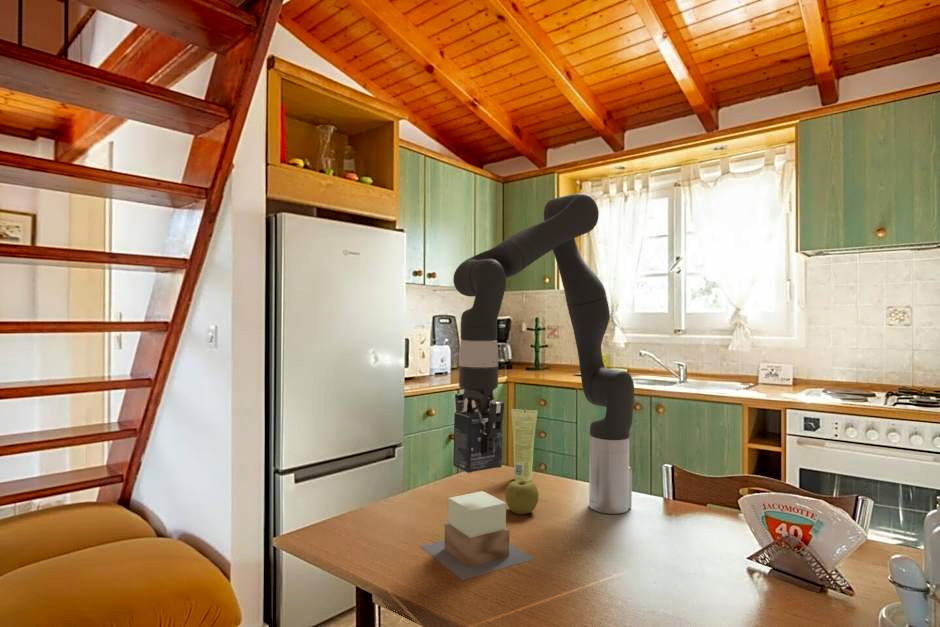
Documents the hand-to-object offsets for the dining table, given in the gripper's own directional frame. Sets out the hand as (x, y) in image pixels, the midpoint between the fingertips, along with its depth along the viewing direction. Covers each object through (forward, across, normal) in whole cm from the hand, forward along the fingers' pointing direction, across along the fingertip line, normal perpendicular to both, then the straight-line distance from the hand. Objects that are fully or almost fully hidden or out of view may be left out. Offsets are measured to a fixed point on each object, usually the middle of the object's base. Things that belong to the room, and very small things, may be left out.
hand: (477, 451), depth 106 cm
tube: (+20, +33, -37) cm, 53 cm away
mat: (+20, 0, 0) cm, 20 cm away
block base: (+20, 0, 0) cm, 20 cm away
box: (+3, 0, 0) cm, 3 cm away
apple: (+20, +13, -21) cm, 32 cm away
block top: (+15, 0, 0) cm, 15 cm away
